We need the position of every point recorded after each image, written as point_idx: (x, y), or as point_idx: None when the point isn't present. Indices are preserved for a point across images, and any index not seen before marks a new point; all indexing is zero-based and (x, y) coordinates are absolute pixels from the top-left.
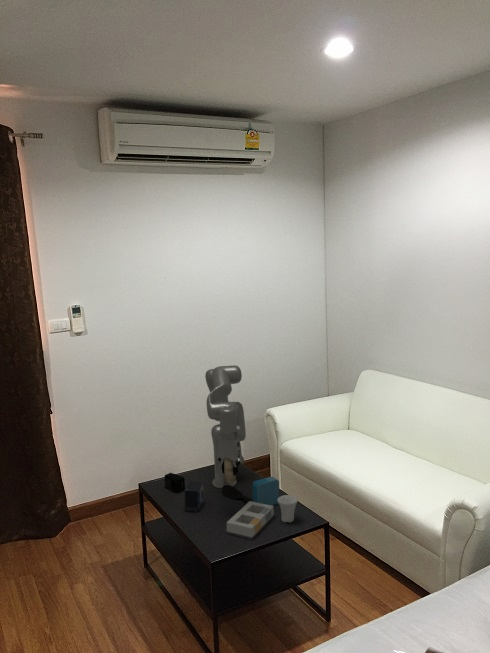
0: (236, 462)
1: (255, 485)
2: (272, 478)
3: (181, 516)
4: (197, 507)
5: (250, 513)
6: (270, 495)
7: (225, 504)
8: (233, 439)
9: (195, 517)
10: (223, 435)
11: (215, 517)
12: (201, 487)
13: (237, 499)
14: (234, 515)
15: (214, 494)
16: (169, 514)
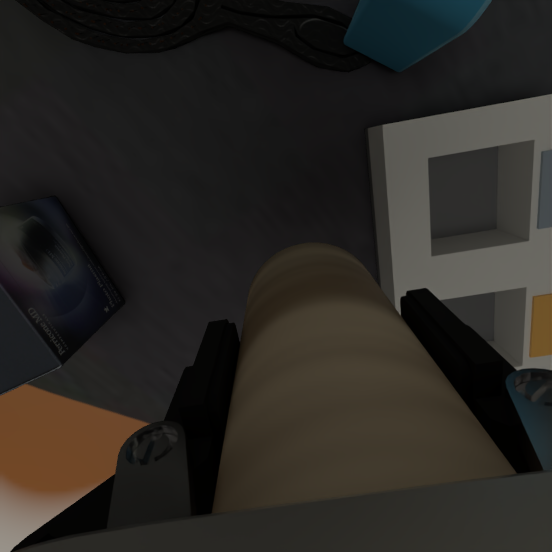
0: (540, 445)
1: (436, 8)
2: None
3: (100, 371)
4: (114, 310)
5: (475, 267)
6: None
7: (180, 142)
8: None
9: (160, 344)
10: None
11: (241, 292)
12: (6, 262)
13: (197, 37)
14: None
15: (15, 64)
16: (40, 386)
